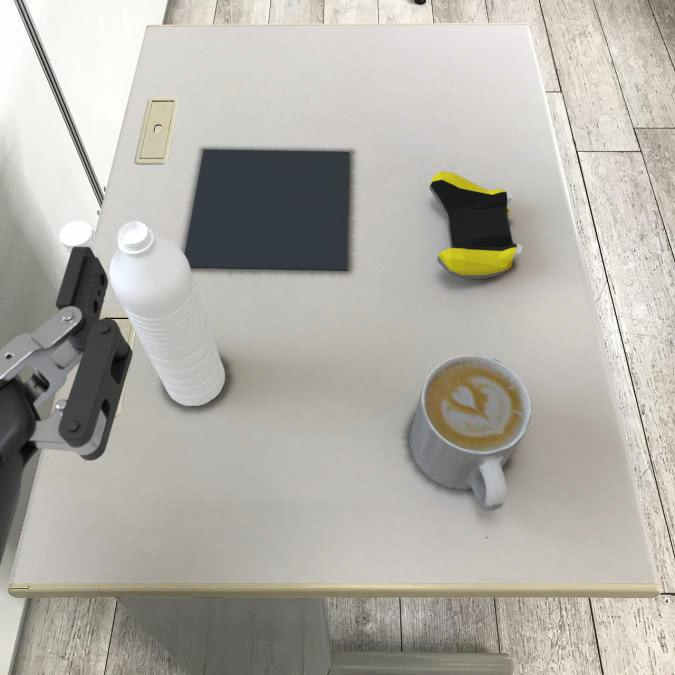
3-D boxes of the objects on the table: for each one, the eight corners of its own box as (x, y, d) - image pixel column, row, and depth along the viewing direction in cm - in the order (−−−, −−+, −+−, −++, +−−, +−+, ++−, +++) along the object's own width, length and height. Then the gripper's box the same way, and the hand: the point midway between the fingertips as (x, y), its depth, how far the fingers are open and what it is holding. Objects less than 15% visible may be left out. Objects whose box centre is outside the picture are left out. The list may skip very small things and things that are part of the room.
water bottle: (227, 353, 71) (179, 197, 50) (224, 406, 68) (171, 264, 47) (149, 355, 71) (67, 200, 50) (141, 409, 68) (50, 268, 46)
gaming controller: (434, 291, 76) (518, 290, 76) (440, 263, 71) (530, 262, 71) (424, 196, 83) (501, 195, 83) (429, 165, 78) (511, 164, 78)
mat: (182, 267, 77) (181, 266, 77) (203, 150, 88) (203, 149, 87) (346, 270, 77) (347, 269, 77) (349, 152, 87) (349, 151, 87)
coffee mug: (407, 398, 68) (417, 353, 60) (499, 398, 68) (522, 353, 60) (415, 524, 62) (428, 494, 53) (518, 523, 62) (547, 493, 53)
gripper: (-227, 602, 28) (-90, 294, 36) (99, 611, 27) (162, 298, 36) (-400, 568, 21) (-184, 201, 29) (25, 579, 21) (123, 206, 29)
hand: (5, 255), depth 33 cm, fingers open, 8 cm apart
